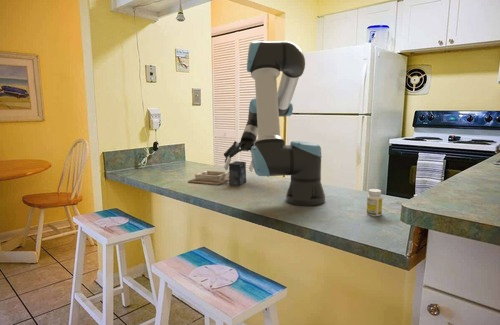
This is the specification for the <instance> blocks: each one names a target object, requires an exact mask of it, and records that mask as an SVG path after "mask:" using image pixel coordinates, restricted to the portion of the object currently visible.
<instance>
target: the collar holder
mask: <svg viewBox="0 0 500 325" xmlns="http://www.w3.org/2000/svg"><path fill="white" fill-rule="evenodd" d="M187 183H188V184H199V185H210V186H221V185H223V184H225V183H229V171H220V170H219V171H218V170H204V171H202V172H199V173H196V174H194V178H193V179H189V180H188V181H187Z"/></svg>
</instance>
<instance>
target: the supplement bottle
mask: <svg viewBox="0 0 500 325" xmlns="http://www.w3.org/2000/svg"><path fill="white" fill-rule="evenodd" d="M366 198H367V199H366V213H367V215H368V216H371V217H379V216H382V212H383V210H382V209H383V196H382V190H381V189H379V188H378V189H377V188H370V189H368V195H367V197H366Z"/></svg>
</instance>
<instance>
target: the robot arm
mask: <svg viewBox="0 0 500 325" xmlns="http://www.w3.org/2000/svg"><path fill="white" fill-rule="evenodd" d="M248 46H249V47H248V52H247V60H246V72H248V73H250V76H251V78H252V79H253V80H254V84H255V85H254V86H255V97H254V98H252V99H251V100H250V101H249V105H248V116H247V120H246V121H247V122H246V125H245V127H244V129H243V132H242V135H241V138H240V141H239V142H238V141H236V140H235V141H234V142H233V143H232V144H231V146H230V147H229V148H228V149H227V150H226V151H225V152H224V153H223V155H224V158H225V159H224V165H223V168H224V169H225V171H228V170H229V164H230V163H231V161H232V159H231V158H233V157H235V156H236V155H237V154H239V153H241V152H249V151H250V153H251V162H250V164H249V167H248V169H249V171H250V172H251V173H252V172H253V170H254V173H255V174H256V175H257V176H258V177H278V176H279V177H281V176H285V177H286V176H290V182H289V185H288V189H287V192H286V196H285V197H286V198H285V199H286V202H287V203H288V204H291V205H295V206H303V207H309V206H310V207H311V206H319V205H322V204H324V203H325V202H326V194H325V191H324V189H323V188H324V187H323V185H322V184H323V183H322V179H321V178H322V157H323V156H322V148H321V146H320V145H319V144H318V143H314V142H308V141H300V140H292V141H290V143H289V144H285V142H286V141H285V139H284V138H283V137H282V136H281V129H280V128H281V126H280V118H281V117H283V118H285V117H290V116H292V114H293V109H294V108H293V106H294V105H293V102H292V99H293V96H294V94H295V90H296V87H297V84H298V81H299V79H300V77H302V76H303V74H304V71H305V68H306V58H305V55H304V53H303V51H302V49H301V48H300V47H299V46H298V45H297V44H296V43H294V42H291V41H288V40H282V41H281V40H279V41H278V40H277V41H275V40H274V41H266V40H264V41H262V40H260V41H252V42H250V43H249V45H248ZM281 72H282V73H281ZM280 75H281V78H280V81H279V86H278V83H277V82H278V81H277V78H278V77H279V76H280Z"/></svg>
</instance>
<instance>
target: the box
mask: <svg viewBox="0 0 500 325" xmlns="http://www.w3.org/2000/svg"><path fill="white" fill-rule="evenodd" d="M228 172H229V181H228V185H229V186H236V187H240V186H242V185H244V184H245V183H247V163H246V161H237V160H236V161H233V162H230V164H229V167H228Z"/></svg>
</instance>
